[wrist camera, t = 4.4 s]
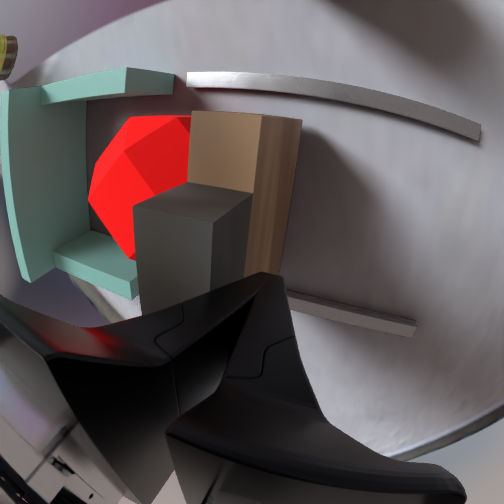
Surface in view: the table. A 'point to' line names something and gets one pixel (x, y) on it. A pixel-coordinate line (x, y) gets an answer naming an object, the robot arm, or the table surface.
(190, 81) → the track
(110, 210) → the ball
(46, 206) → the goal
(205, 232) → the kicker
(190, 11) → the table surface
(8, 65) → the sauce bottle
